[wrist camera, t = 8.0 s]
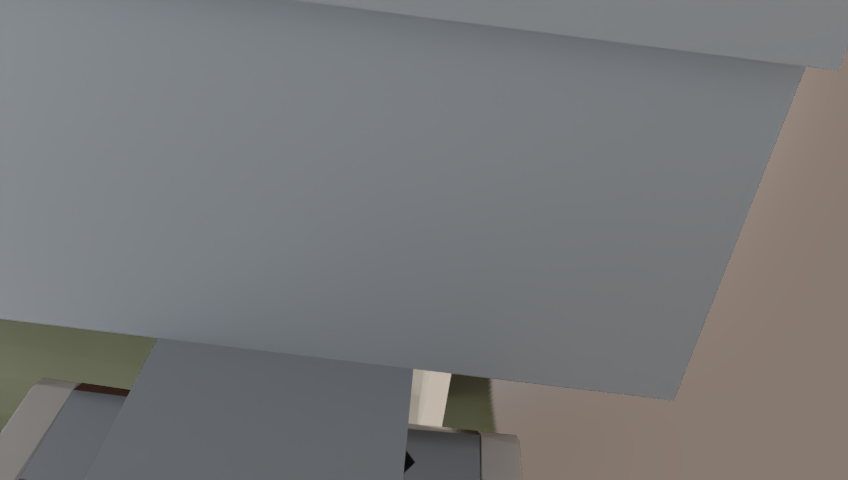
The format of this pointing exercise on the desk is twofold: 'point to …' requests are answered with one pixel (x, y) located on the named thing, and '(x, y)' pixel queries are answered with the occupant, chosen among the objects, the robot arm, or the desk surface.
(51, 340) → the desk surface
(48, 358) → the desk surface
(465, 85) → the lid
